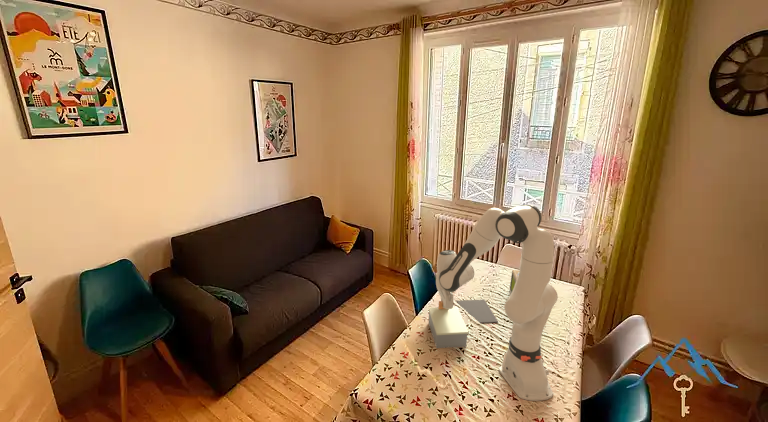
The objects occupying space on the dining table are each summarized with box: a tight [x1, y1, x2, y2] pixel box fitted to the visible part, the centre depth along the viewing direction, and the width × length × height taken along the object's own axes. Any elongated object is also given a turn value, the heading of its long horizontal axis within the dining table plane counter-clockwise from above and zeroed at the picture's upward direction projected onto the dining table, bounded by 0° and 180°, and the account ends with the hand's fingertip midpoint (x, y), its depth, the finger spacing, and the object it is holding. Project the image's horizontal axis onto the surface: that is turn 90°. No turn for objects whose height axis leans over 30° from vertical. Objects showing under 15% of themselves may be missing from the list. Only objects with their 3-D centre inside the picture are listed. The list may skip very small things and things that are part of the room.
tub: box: [428, 312, 468, 349], centre depth 163 cm, size 18×14×8 cm
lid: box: [428, 300, 469, 335], centre depth 161 cm, size 19×15×6 cm
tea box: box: [509, 269, 520, 296], centre depth 192 cm, size 15×10×15 cm
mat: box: [456, 299, 499, 324], centre depth 183 cm, size 20×16×1 cm
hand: (443, 306), depth 169 cm, fingers closed on lid
